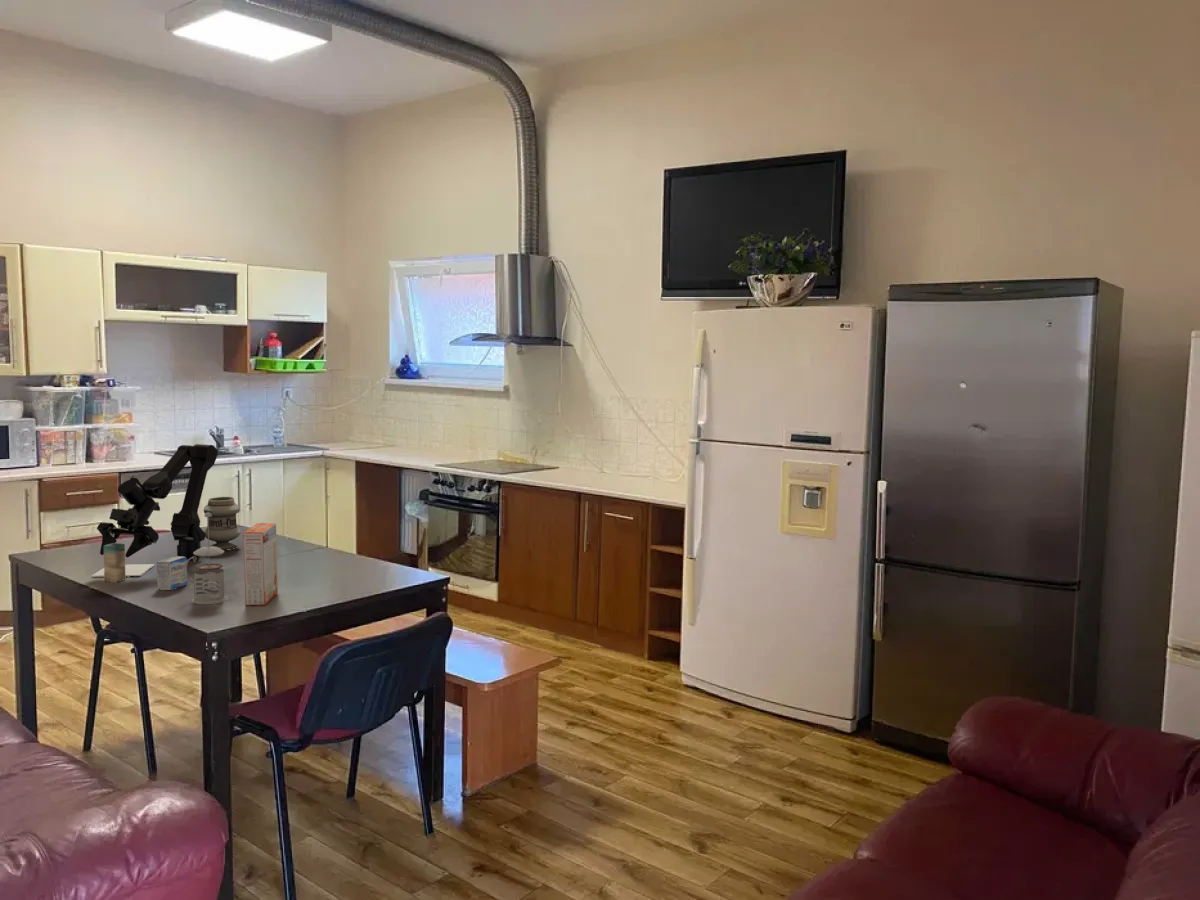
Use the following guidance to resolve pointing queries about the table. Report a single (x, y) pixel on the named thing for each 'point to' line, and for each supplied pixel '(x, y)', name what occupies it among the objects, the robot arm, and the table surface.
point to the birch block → (114, 562)
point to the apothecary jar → (222, 522)
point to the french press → (208, 576)
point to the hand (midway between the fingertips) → (113, 555)
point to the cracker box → (260, 563)
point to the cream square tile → (129, 570)
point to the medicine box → (171, 573)
